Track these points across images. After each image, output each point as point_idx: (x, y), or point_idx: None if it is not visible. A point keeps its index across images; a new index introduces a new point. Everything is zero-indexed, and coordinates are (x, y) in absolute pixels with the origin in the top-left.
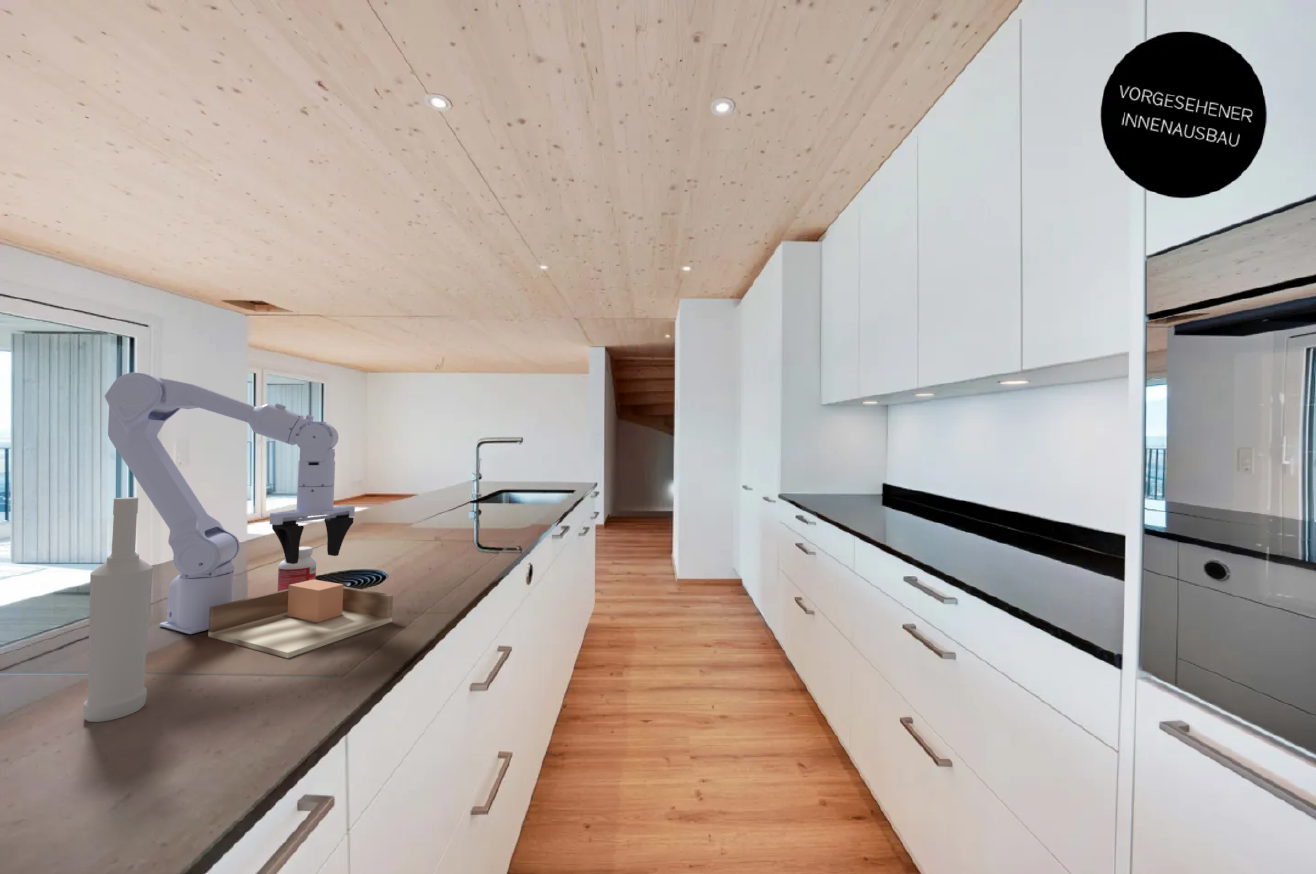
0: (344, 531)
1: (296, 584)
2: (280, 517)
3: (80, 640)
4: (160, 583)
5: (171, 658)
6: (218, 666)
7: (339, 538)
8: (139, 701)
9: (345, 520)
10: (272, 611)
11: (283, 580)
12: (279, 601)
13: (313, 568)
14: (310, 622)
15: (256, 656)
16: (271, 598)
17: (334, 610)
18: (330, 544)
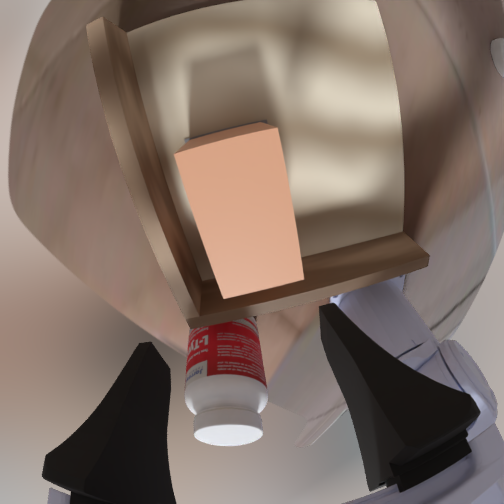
0: (93, 428)
1: (288, 270)
2: (496, 461)
3: (438, 322)
4: (296, 445)
5: (454, 172)
6: (439, 75)
7: (121, 402)
8: (499, 38)
9: (75, 482)
10: (306, 263)
11: (260, 362)
12: None
13: (196, 374)
14: None
15: (399, 59)
16: (319, 280)
17: (211, 135)
18: (159, 400)
